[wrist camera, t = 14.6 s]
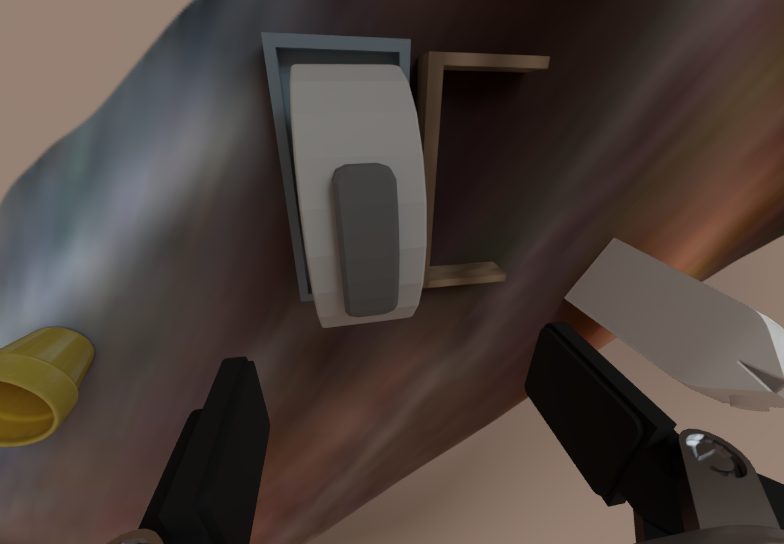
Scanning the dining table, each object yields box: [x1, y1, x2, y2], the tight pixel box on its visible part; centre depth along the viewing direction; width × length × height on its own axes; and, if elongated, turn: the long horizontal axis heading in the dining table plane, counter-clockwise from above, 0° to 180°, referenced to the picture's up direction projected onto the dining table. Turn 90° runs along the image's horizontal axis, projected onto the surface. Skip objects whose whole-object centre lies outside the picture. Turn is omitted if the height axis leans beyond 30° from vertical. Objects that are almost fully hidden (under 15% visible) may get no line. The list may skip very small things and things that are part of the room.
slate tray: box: [261, 32, 411, 302], centre depth 35 cm, size 13×27×3 cm, turn 0°
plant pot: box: [0, 327, 95, 447], centre depth 35 cm, size 10×10×10 cm
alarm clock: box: [289, 64, 427, 328], centre depth 27 cm, size 21×8×20 cm, turn 1°
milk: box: [564, 238, 784, 411], centre depth 40 cm, size 12×12×26 cm
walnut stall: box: [416, 51, 550, 288], centre depth 37 cm, size 12×25×4 cm, turn 0°
